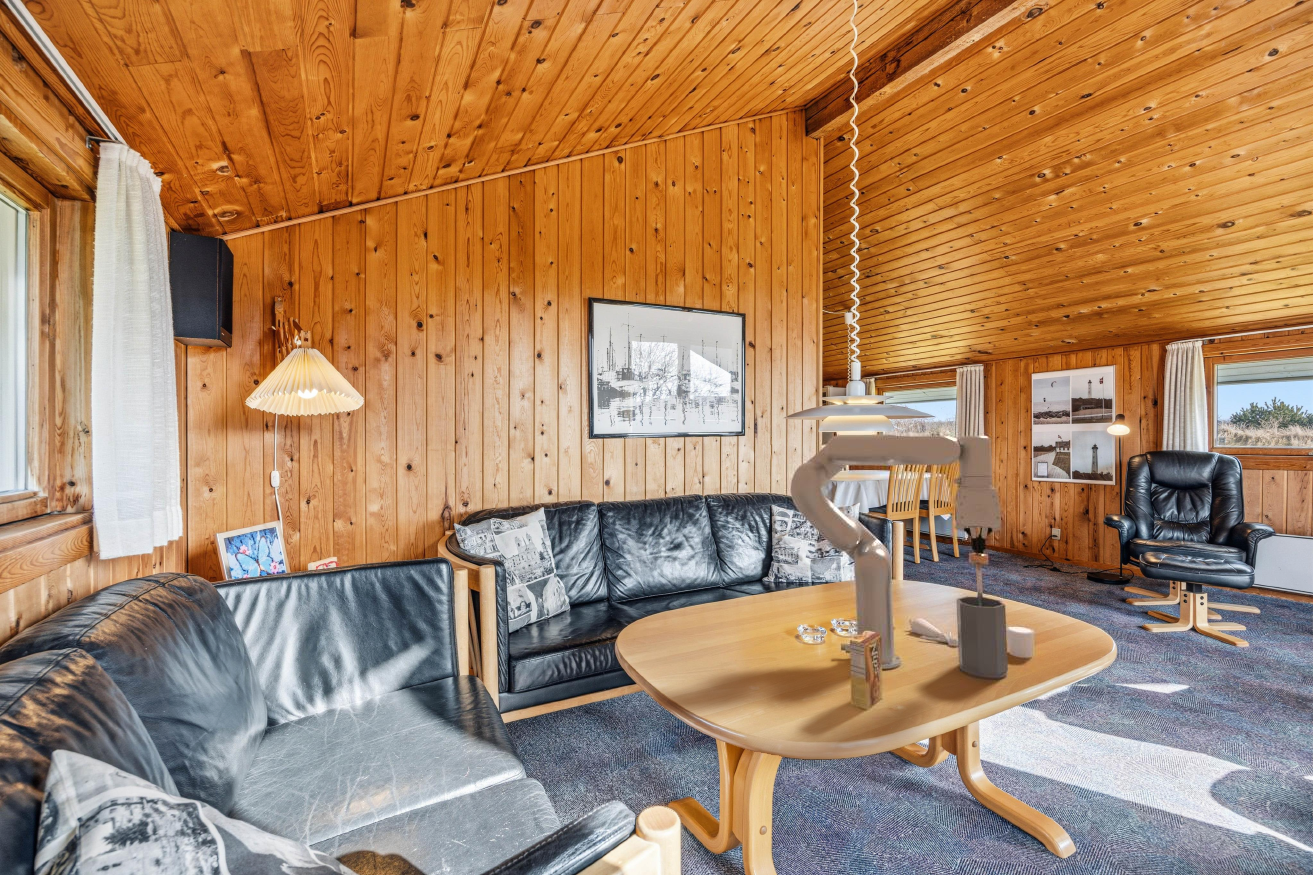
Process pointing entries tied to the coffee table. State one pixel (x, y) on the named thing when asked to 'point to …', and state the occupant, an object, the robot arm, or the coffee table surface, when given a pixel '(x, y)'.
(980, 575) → the plunger
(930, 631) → the woman figurine
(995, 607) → the press pot
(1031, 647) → the white cylinder
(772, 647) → the coffee table surface
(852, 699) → the candy box
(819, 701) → the coffee table surface
